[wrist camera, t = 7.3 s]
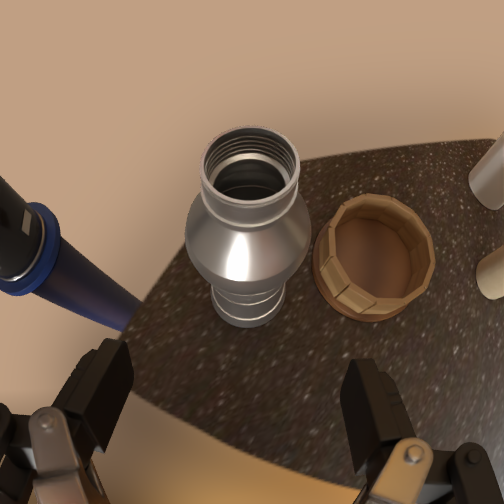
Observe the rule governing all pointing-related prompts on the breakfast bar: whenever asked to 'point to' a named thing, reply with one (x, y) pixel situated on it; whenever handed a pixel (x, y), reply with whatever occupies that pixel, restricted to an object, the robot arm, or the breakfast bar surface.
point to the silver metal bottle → (248, 223)
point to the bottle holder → (372, 258)
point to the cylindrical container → (489, 177)
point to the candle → (491, 274)
